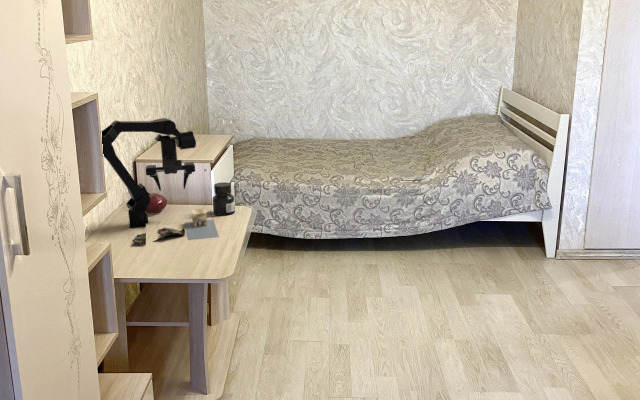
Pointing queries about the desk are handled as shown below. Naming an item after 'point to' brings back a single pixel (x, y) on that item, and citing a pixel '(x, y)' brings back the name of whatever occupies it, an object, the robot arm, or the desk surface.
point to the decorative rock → (164, 232)
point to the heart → (156, 203)
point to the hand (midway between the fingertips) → (172, 189)
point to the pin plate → (201, 230)
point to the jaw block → (199, 216)
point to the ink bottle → (223, 199)
